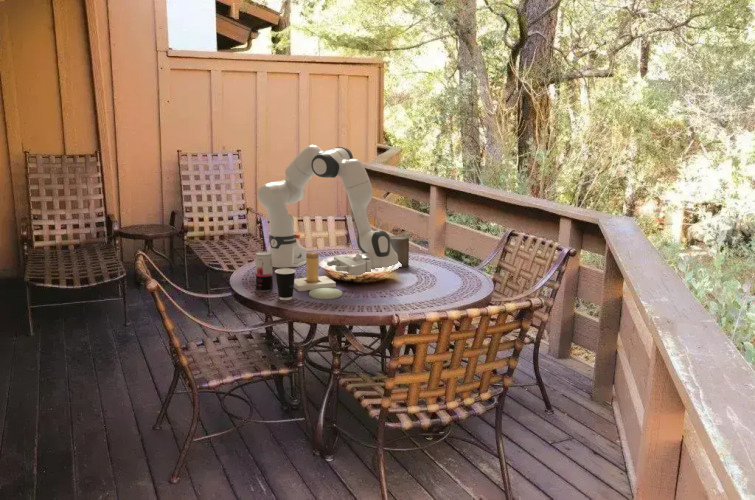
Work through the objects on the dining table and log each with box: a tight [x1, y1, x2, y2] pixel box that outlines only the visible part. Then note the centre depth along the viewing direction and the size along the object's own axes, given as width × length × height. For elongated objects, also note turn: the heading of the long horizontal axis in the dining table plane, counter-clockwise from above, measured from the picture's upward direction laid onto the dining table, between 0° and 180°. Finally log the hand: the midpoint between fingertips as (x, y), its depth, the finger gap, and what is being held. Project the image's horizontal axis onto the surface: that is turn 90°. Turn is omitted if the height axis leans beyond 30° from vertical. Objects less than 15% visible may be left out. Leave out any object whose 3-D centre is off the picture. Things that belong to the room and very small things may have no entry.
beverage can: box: [255, 251, 274, 293], centre depth 268 cm, size 6×7×15 cm
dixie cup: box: [274, 267, 297, 301], centre depth 256 cm, size 8×8×11 cm
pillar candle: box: [389, 234, 410, 269], centre depth 313 cm, size 10×10×15 cm
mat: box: [308, 287, 343, 300], centre depth 263 cm, size 13×13×1 cm
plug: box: [305, 252, 320, 283], centre depth 275 cm, size 5×5×14 cm
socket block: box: [293, 273, 337, 292], centre depth 280 cm, size 16×20×2 cm
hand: (331, 266), depth 279 cm, fingers open, 8 cm apart
